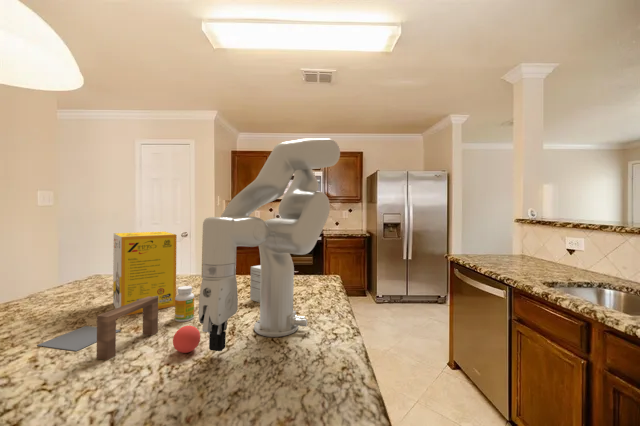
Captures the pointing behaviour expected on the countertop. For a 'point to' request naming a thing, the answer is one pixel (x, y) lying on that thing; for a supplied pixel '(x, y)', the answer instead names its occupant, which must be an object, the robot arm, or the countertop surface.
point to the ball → (186, 339)
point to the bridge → (108, 319)
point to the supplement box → (255, 283)
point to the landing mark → (74, 339)
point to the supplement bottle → (184, 304)
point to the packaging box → (144, 268)
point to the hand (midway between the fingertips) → (217, 349)
